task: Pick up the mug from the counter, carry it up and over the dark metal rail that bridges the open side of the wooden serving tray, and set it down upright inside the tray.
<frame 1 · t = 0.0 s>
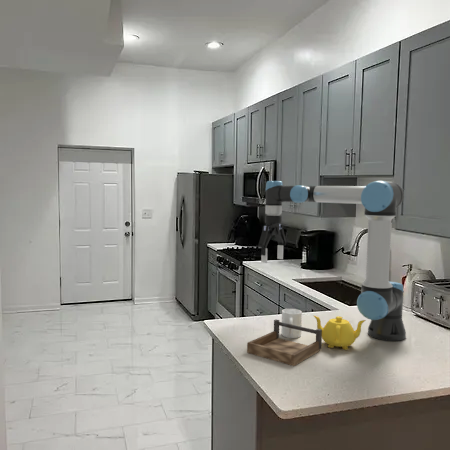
hand: (272, 260, 212), 28 cm above the counter, fingers open, 13 cm apart
teapot: (338, 346, 180), on the counter
mug: (290, 337, 191), on the counter
wooden serving tray: (284, 351, 173), on the counter
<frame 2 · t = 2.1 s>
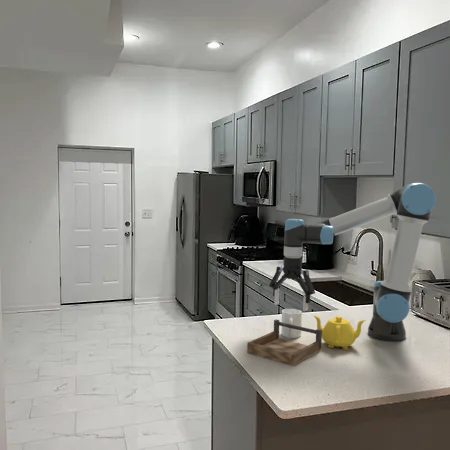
hand: (290, 307, 190), 12 cm above the counter, fingers open, 13 cm apart
nothing on the counter moved.
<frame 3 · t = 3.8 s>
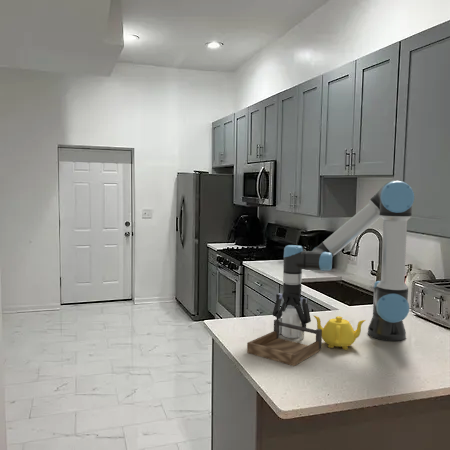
hand: (290, 336, 191), 0 cm above the counter, fingers open, 9 cm apart
mug: (291, 337, 191), on the counter, touching gripper
everything else where it was.
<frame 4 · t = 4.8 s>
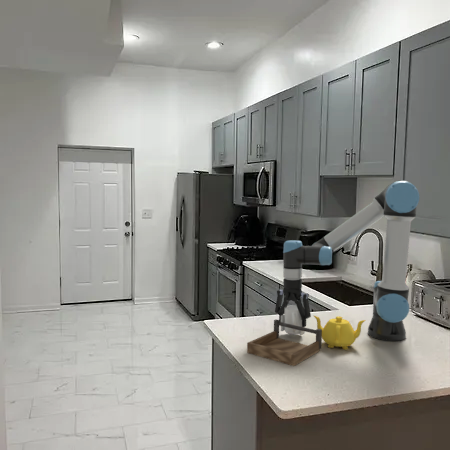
hand: (292, 332, 191), 2 cm above the counter, fingers closed on mug, 8 cm apart
mug: (294, 333, 190), point 1 cm above the counter, touching gripper
everything else where it was.
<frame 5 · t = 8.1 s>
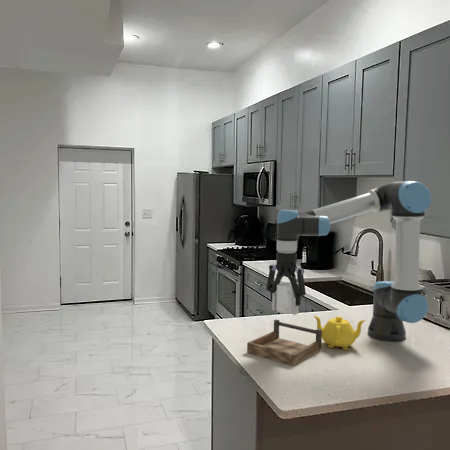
hand: (284, 311, 172), 15 cm above the counter, fingers closed on mug, 8 cm apart
mug: (286, 313, 172), point 15 cm above the counter, touching gripper
everything else where it was.
when the fingers open (2 cm above the counter, at t = 11.2 s): mug stays where it is, resting on wooden serving tray.
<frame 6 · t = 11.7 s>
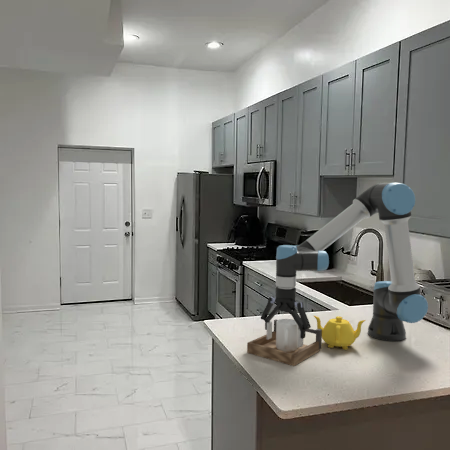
hand: (284, 342, 173), 4 cm above the counter, fingers open, 13 cm apart
mug: (286, 350, 173), point 1 cm above the counter, touching wooden serving tray
everything else where it was.
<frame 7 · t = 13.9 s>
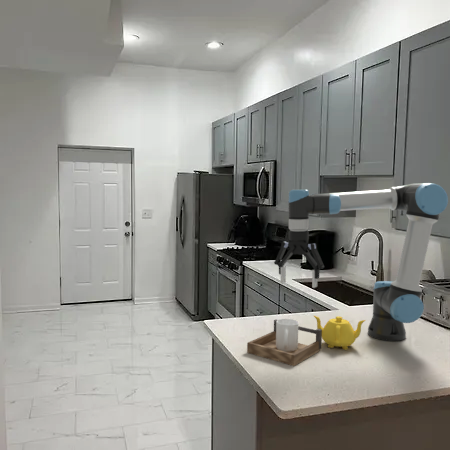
hand: (298, 285, 177), 24 cm above the counter, fingers open, 13 cm apart
nothing on the counter moved.
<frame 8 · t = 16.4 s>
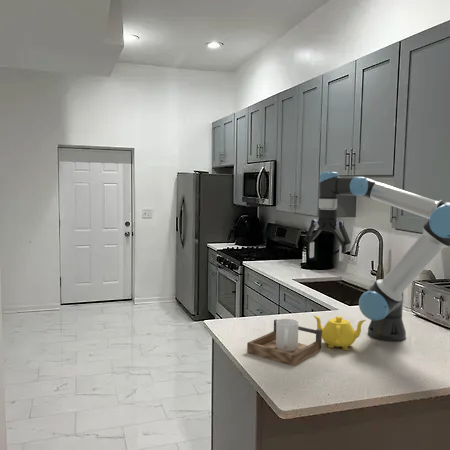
hand: (326, 259, 194), 32 cm above the counter, fingers open, 13 cm apart
nothing on the counter moved.
at the end: mug inside the target area on the wooden serving tray (0.9 cm from its centre), point 0.6 cm above the wooden serving tray's base; mug tilted 0°; the gripper is holding nothing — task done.
